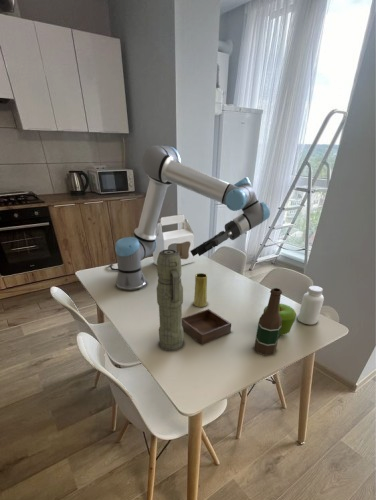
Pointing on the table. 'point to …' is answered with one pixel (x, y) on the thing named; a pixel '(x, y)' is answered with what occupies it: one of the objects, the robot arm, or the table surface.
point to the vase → (200, 290)
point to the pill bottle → (311, 305)
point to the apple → (286, 317)
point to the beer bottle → (269, 325)
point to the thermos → (170, 299)
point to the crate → (205, 326)
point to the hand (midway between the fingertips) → (194, 253)
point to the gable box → (175, 238)
